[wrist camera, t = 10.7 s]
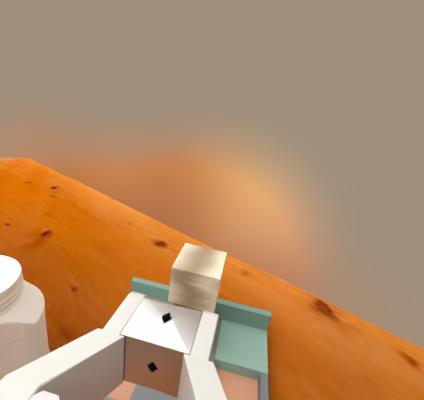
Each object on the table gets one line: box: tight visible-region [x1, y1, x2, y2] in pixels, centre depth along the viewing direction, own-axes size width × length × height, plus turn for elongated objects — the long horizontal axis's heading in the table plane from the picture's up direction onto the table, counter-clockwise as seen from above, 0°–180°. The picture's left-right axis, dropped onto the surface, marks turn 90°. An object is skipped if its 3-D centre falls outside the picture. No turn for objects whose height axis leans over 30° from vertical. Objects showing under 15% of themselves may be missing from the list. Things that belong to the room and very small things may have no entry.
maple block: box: [168, 243, 227, 313], centre depth 35 cm, size 6×6×13 cm
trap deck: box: [103, 277, 271, 400], centre depth 32 cm, size 23×22×5 cm
